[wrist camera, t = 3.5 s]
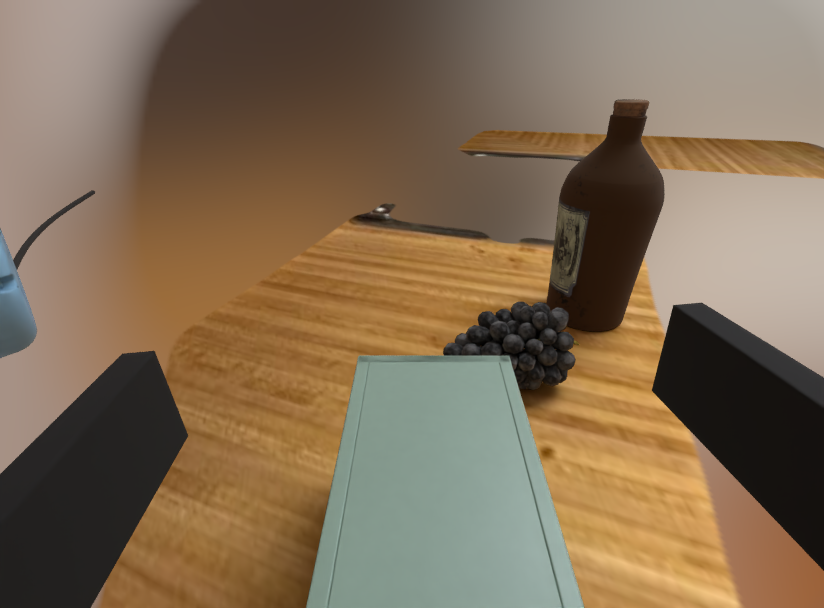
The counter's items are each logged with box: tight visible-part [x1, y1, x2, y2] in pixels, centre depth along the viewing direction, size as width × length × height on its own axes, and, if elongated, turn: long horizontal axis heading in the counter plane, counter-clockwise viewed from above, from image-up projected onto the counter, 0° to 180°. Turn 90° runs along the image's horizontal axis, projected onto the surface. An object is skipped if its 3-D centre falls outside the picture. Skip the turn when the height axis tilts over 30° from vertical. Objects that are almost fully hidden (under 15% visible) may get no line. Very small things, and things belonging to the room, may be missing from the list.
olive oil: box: [547, 99, 664, 331], centre depth 48 cm, size 11×11×25 cm
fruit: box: [443, 302, 579, 390], centre depth 41 cm, size 9×8×15 cm
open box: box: [306, 356, 584, 608], centre depth 24 cm, size 15×10×12 cm, turn 179°
